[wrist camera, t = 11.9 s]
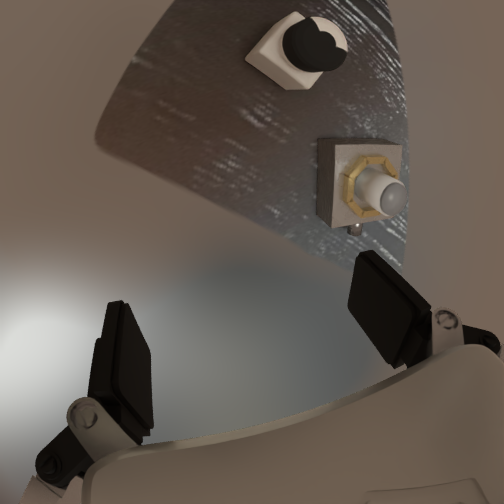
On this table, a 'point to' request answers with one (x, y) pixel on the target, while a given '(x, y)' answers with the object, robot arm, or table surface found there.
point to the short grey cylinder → (381, 192)
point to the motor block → (351, 178)
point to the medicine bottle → (299, 51)
